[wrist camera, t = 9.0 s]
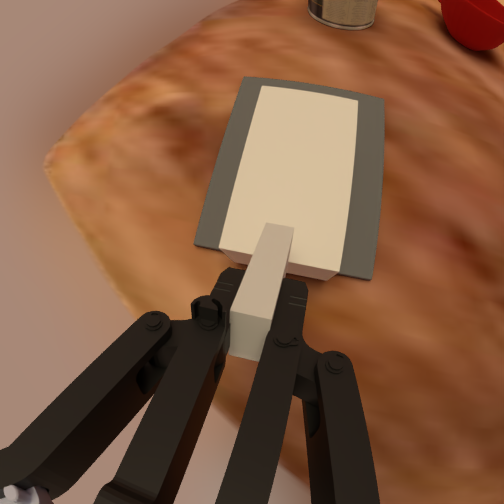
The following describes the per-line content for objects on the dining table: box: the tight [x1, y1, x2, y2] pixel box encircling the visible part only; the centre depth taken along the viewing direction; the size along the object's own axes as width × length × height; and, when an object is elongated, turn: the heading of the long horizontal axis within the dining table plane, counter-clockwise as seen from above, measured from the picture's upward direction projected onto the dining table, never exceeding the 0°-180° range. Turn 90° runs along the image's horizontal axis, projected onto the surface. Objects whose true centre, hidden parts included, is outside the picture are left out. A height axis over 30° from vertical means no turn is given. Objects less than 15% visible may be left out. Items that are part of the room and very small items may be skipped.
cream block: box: [219, 86, 358, 281], centre depth 23 cm, size 6×8×14 cm
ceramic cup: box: [438, 0, 504, 51], centre depth 25 cm, size 13×17×10 cm
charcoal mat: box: [194, 77, 384, 280], centre depth 28 cm, size 20×16×1 cm
